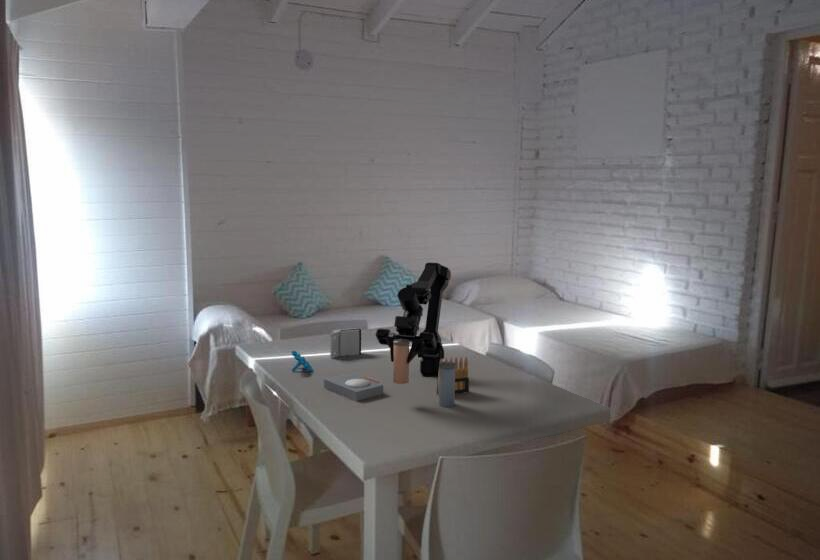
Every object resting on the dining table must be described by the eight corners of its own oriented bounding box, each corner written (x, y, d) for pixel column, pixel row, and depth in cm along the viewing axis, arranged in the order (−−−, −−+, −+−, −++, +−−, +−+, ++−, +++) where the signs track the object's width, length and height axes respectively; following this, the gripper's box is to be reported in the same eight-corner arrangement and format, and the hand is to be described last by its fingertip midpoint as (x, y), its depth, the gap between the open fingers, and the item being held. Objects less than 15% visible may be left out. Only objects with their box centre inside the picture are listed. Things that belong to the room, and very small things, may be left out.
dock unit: (352, 381, 230) (352, 371, 229) (384, 393, 217) (384, 382, 216) (324, 387, 222) (324, 377, 222) (356, 401, 209) (356, 390, 209)
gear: (312, 370, 236) (292, 350, 236) (300, 382, 236) (280, 362, 236) (315, 366, 247) (296, 347, 247) (304, 377, 247) (285, 358, 247)
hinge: (331, 359, 258) (331, 333, 257) (325, 356, 263) (324, 331, 261) (362, 354, 266) (362, 329, 264) (356, 351, 270) (356, 327, 269)
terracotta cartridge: (408, 378, 210) (408, 338, 208) (410, 383, 205) (410, 342, 203) (392, 379, 210) (392, 338, 208) (393, 384, 205) (394, 342, 203)
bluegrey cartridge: (453, 401, 210) (453, 361, 208) (456, 406, 205) (456, 365, 203) (437, 402, 209) (438, 361, 207) (440, 407, 204) (440, 366, 203)
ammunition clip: (438, 395, 216) (439, 359, 214) (436, 393, 218) (437, 358, 216) (468, 392, 220) (469, 356, 218) (466, 390, 221) (467, 355, 219)
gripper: (377, 303, 210) (364, 345, 202) (434, 307, 205) (423, 351, 196) (386, 322, 219) (373, 364, 210) (441, 327, 213) (430, 370, 205)
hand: (399, 362), depth 205 cm, fingers closed on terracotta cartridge, 5 cm apart
